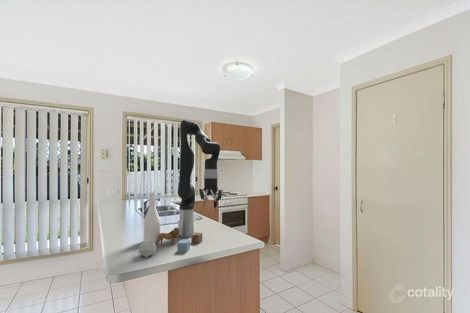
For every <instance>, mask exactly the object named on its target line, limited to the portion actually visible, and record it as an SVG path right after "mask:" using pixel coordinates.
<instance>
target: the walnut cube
mask: <svg viewBox="0 0 470 313" xmlns="http://www.w3.org/2000/svg"><path fill="white" fill-rule="evenodd" d="M190 237H191V238H190V239H191V244H197V245H199V244H201V243H202V242H203V232H194V233H193V234H192V235H191V236H190Z"/></svg>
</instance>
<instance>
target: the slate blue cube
mask: <svg viewBox="0 0 470 313" xmlns="http://www.w3.org/2000/svg"><path fill="white" fill-rule="evenodd" d="M189 250H190V239H179V241H178V242H177V253H185V252H186V253H188V252H189Z"/></svg>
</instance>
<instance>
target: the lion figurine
mask: <svg viewBox="0 0 470 313" xmlns="http://www.w3.org/2000/svg"><path fill="white" fill-rule="evenodd" d="M179 234H180V228H178V227H174V228H173V230H171V231H170V232H168V233H166V232H160V234H159V235H158V237H157V241H156V243H155V244H156V245H161V246H162V247H163V246H165V244H164V243H163V241H164V240H169V241H170V243H171V244H172V245H176V244H175V240H176V239H178V237H180V236H179ZM158 238H159V239H158Z"/></svg>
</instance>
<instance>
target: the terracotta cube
mask: <svg viewBox="0 0 470 313" xmlns="http://www.w3.org/2000/svg"><path fill="white" fill-rule="evenodd" d="M217 208H218V206H217V207H216V208H214V198H208V199H206V200H205V206H204V209H205V210H215V209H217Z"/></svg>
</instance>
